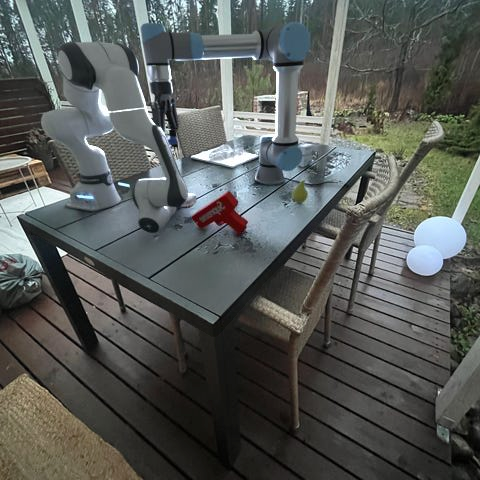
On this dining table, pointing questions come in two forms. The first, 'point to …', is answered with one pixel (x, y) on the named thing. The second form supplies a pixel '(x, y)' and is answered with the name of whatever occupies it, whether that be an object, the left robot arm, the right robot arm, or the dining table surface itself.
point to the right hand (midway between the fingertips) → (170, 149)
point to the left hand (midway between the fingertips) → (176, 191)
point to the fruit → (300, 192)
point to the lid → (172, 140)
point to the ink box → (306, 154)
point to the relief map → (225, 156)
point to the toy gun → (221, 214)
